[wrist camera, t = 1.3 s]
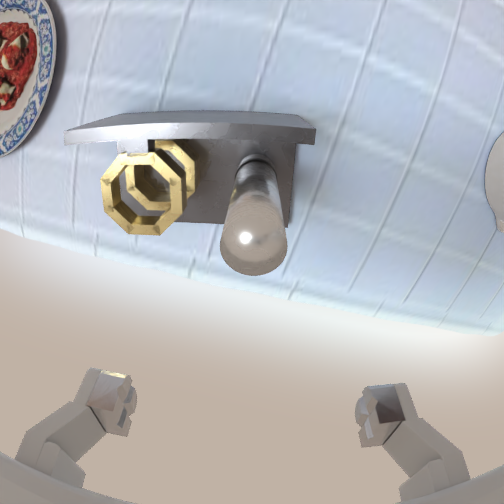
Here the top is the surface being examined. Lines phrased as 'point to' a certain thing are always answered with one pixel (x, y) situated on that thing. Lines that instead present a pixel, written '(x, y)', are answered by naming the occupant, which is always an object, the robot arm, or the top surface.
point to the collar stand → (188, 162)
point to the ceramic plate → (24, 67)
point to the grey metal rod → (254, 220)
